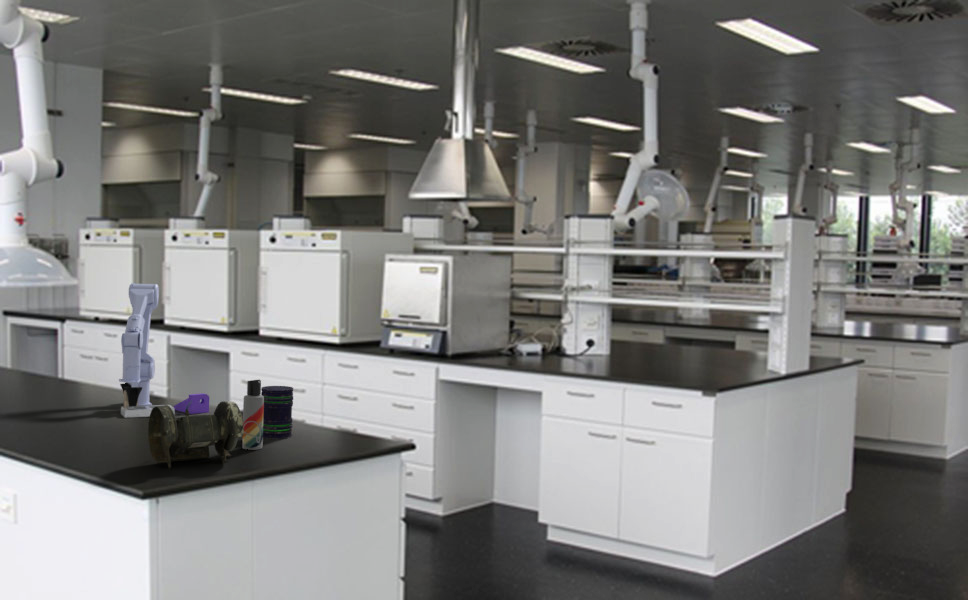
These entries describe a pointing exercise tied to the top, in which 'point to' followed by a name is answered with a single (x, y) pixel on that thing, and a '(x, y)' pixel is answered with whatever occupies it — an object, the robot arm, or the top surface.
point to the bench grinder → (193, 433)
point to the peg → (126, 399)
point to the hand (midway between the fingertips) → (130, 405)
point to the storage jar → (277, 411)
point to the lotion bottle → (253, 416)
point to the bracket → (194, 404)
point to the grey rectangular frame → (139, 411)
